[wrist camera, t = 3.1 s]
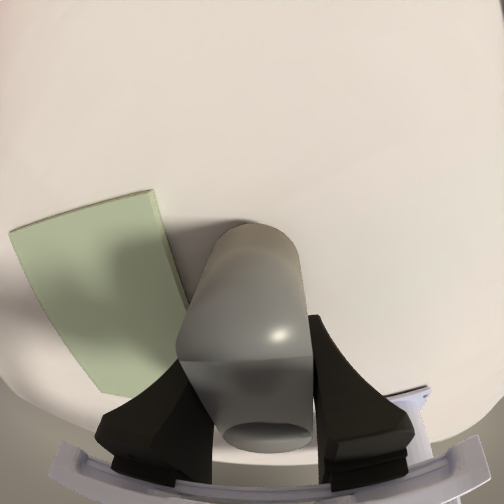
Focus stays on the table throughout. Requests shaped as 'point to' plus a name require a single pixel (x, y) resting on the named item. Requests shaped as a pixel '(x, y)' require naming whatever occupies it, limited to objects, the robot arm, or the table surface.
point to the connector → (252, 342)
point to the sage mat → (108, 288)
